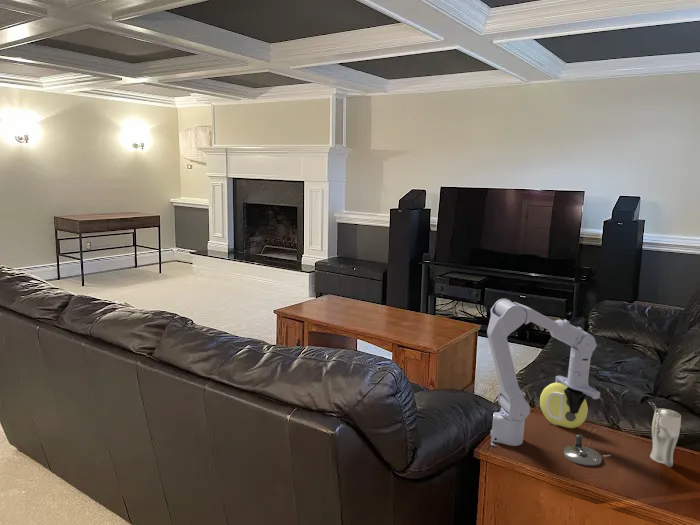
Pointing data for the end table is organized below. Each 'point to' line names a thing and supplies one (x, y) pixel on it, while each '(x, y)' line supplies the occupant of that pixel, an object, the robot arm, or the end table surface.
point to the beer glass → (665, 435)
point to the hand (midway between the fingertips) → (573, 412)
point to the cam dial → (582, 453)
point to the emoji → (561, 407)
